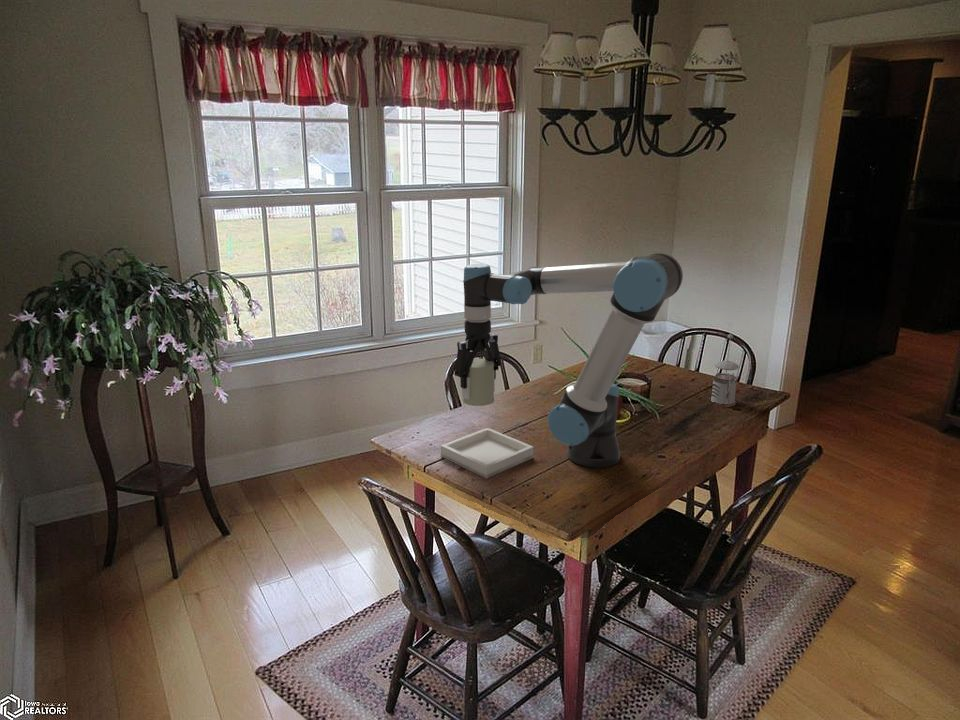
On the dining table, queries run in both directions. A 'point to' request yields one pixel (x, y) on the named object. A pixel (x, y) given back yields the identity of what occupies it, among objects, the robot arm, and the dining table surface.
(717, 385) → the french press
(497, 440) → the tray
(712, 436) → the dining table surface
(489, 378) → the can
